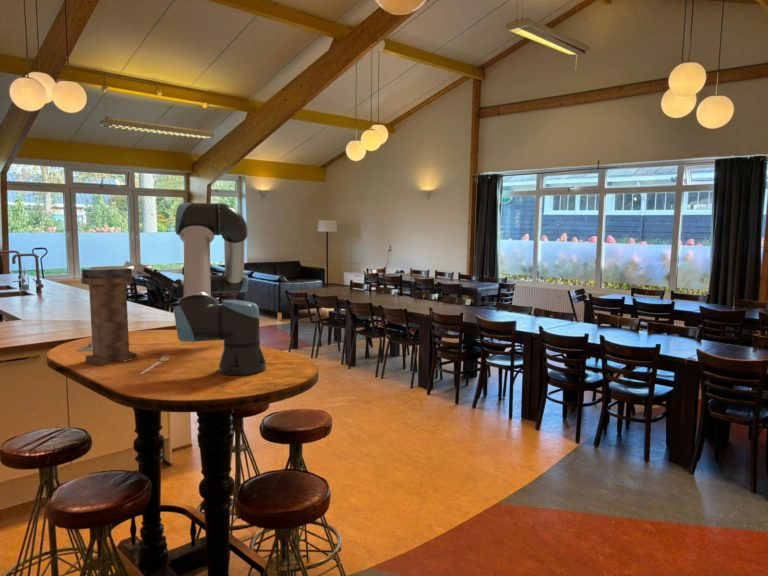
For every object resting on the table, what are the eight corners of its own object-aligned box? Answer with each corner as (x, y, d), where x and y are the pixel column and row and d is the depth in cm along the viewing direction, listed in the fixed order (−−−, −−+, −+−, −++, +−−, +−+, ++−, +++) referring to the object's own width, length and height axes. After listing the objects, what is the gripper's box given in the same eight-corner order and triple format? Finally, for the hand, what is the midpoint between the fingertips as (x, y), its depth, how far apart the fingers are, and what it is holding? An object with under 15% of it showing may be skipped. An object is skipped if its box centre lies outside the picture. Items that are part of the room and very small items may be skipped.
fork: (135, 376, 173) (135, 370, 172) (161, 360, 192) (161, 355, 192) (145, 376, 173) (145, 370, 172) (170, 360, 192) (170, 355, 192)
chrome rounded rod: (147, 274, 201) (147, 264, 201) (152, 276, 198) (151, 265, 198) (90, 277, 187) (89, 266, 186) (94, 279, 184) (93, 267, 184)
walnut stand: (126, 355, 200) (122, 267, 197) (136, 359, 193) (132, 268, 190) (85, 361, 190) (80, 269, 187) (95, 365, 183) (90, 270, 180)
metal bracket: (93, 331, 219) (129, 331, 219) (96, 344, 221) (131, 344, 221) (74, 348, 206) (112, 348, 206) (77, 361, 208) (115, 361, 208)
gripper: (191, 302, 201) (136, 275, 186) (166, 297, 216) (114, 272, 201) (199, 284, 203) (146, 256, 188) (174, 281, 218) (123, 255, 203)
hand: (130, 264), depth 194 cm, fingers open, 9 cm apart
